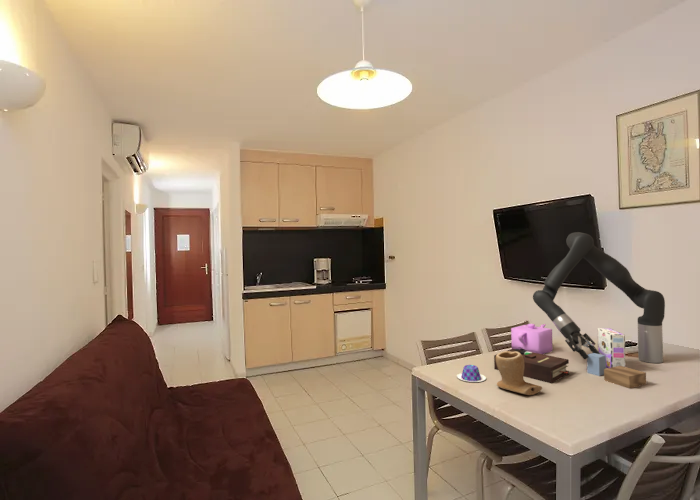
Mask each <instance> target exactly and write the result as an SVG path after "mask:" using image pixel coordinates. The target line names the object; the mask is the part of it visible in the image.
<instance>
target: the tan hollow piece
mask: <svg viewBox="0 0 700 500" xmlns="http://www.w3.org/2000/svg"><path fill="white" fill-rule="evenodd" d="M495 355H496V354H495ZM496 364H497V367H498V370H497V371H498V372H499V374H500V376H501V380H499V381H497V382H496V386H497V387H498V388H501V389H503V390H506V391H511V392H514V393H517V394H521V395H527V396H533V395H537V394H538V393H539V392H541V391H542V389H543V387H542V385H539V384H538V385H537V384H533V383H530V382H527V381H526V380H525V378H524V376H523V374H524V358H523V356H522V355H521V354H520V353H519V352H517V351H514V352H510V351H508V350H505V351H502V352H498V353H497V355H496Z"/></svg>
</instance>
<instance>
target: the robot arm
mask: <svg viewBox="0 0 700 500" xmlns="http://www.w3.org/2000/svg"><path fill="white" fill-rule="evenodd" d="M566 237H567V238H566V241H565V242H566V245H567V247H568V248H569V251H568V252H567V254H566V256H565V257H564V258H563V259H561V261H560V262H559V263H557V264H556V265H555V266H554V267H553V269H552V270H551V271H550V272H549V274H548V275H547V277H546V278H545V280H544V283H543V284H544V286H543V288H542V289H540V290H536V291H534V293H533V295H532V299H533V301H534V303H535V304H536V305H537V307H539V309H541V310H542V311H543V313H544V314H546V316H547V317H548V318H549V319H550V321H551V322H552V323H553V325H554V326H555V327H556V328H557V330H558V331H559V332H560V334H561V335H562V336H563V338H565V340H564V341H565V343H566V344H567V345H568V347H569V349H571V351H572V352H573V353H574V352H576V353H577V354H579V355H580V357H582V358H583V360H587V358H588V357H589V356H588V353H586V351H585V350H584V349H583V347H584V348H587V349H588V350H589V351H590V352H591V353H597V354H600V353H599V352H598V348H596V347H595V345H596V342H595V341H594V340H593V339H592V338H591V337H590V335H588V334H587V333H586V332H585V333H583V334H582V333H581V328H580V327H579V326H578V324H577V323H576V322H575V321H574V320H573V319H572V318H571V316H569V315H568V314H567V313H566V312H565V310H563V308H562V307H561V306H559V305H558V304H556V303H555V301H554V300H555V298H556V296H557V294H558V291H559V289H560V287H561V286H562V285H563V284H564V282H565V280H566V279H567V277H568V276H569V274H571V272H572V270H573V269H574V268H575V267H576V266H577V265H578V264H579V262H580V261H581V260H582V259H584V260H585V261H586V262H588V263H589V264H590V265H591V266H592V267H593V268H594V269H595V270H596V271H597V272H598V273H600V274H601V276H603V277H604V278H605V279H607V281H609V282H610V283H612V285H614V286H615V287H616V288H617V289H619V290H620V291H621V292H623V293H624V294H625V296H627V297H628V298H629V299H630V301H631V302H632V303H633V304H634V305H635V306H637V307H638V308H641V309H643V314H642V315H641V316H638V317H637V349H638V350H637V353H638V355H637V356H638V360H639V361H641V362H646V363H652V364H662V363H663V362H664V350H663V348H664V345H663V343H664V342H663V338H664V337H663V336H664V335H663V322H664V319H665V315H666V313H665V312H666V311H665V308H666V303H665V302H666V301H665V297H664V295H663V294H662V293H661V292H660V291H657V290H651V289H647V288H645V287H643V286H641V284H639V283H637V281H635V280H634V278H633V277H632V275H631V273H630V271H629V269H628V268H627V267H626V266H624V265H623V264H622V263H621V262H620V261H619V260H618V259H616V258H614V257H613V256H611V255H610V254H608V253H606V252H604V251H603V250H601V249H600V248H598V247H597V246H595V244H594V238H593V237H592V236H591V235H590V234H588V233H584V232H579V231H577V232H576V231H575V232H571V233H569V234H568V236H566Z"/></svg>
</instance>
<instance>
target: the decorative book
mask: <svg viewBox="0 0 700 500" xmlns="http://www.w3.org/2000/svg"><path fill="white" fill-rule="evenodd" d="M519 348H521V347H519ZM507 351H510V352H514V351H517V352H519V353H520V354H521V355H522V356H523V358H524V374H523V378H524V377H525V378H528V379H533V380H537V381H540V382H544V383H548V384H553V383H554V382H556V380H557V381H559V380H560V379H563V378H564V377H566V376H568V375H569V374H570V371H569V370H567V368H568V367H569V365H568V364H570V362H569V361H570V360H569V359H568V358H563V357H558V356H552V355H548V354H539V353H534V352H529V351H527V350H525V349H522V348H521V349H514V348H513V349H512V348H511V349H510V348H509V349H507ZM497 354H498V353H497ZM497 354H494V355H493V359H494V360H493V362H494V363H493V364H494V365H493V366H494V370H497V371H499V370H498V367H497V364H496V355H497ZM558 379H559V380H558Z"/></svg>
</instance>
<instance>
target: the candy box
mask: <svg viewBox="0 0 700 500" xmlns="http://www.w3.org/2000/svg"><path fill="white" fill-rule="evenodd" d="M597 344H598V346H597V350H598V352H599V353H600V354H601V355H606V369H607V368H612V367H616V366H623V367H626V335H625V334H624V333H622V332H619V331H617V330H615V329H613V328H610V327H609V328H608V327H607V328H606V327H597Z"/></svg>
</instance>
